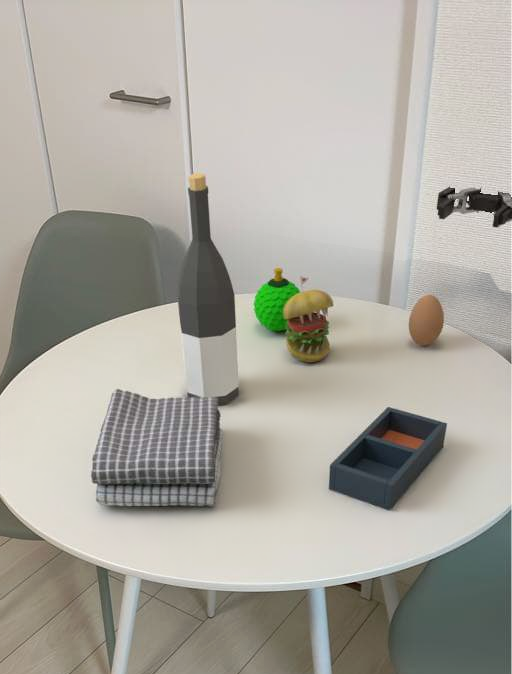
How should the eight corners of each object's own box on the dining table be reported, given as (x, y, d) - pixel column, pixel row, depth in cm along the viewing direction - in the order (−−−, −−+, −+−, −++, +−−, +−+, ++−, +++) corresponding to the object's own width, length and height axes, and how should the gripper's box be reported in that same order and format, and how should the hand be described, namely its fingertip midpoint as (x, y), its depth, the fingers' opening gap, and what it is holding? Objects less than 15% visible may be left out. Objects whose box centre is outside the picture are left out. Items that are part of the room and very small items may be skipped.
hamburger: (299, 371, 114) (300, 294, 106) (273, 353, 119) (272, 279, 111) (340, 357, 117) (344, 281, 109) (313, 340, 122) (315, 267, 114)
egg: (425, 355, 116) (432, 305, 110) (399, 344, 119) (404, 296, 114) (447, 344, 118) (454, 295, 113) (421, 334, 121) (427, 286, 116)
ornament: (303, 338, 122) (305, 278, 116) (254, 340, 123) (252, 280, 117) (302, 317, 129) (303, 259, 122) (254, 319, 129) (253, 261, 123)
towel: (95, 516, 90) (83, 462, 85) (114, 433, 104) (105, 383, 99) (221, 512, 89) (217, 457, 84) (223, 429, 103) (220, 377, 98)
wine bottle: (175, 390, 112) (153, 174, 93) (222, 375, 115) (210, 162, 96) (201, 413, 107) (182, 189, 87) (250, 396, 109) (242, 175, 90)
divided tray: (443, 447, 97) (447, 423, 94) (389, 510, 88) (392, 485, 85) (385, 429, 101) (388, 406, 98) (328, 489, 91) (329, 464, 89)
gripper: (468, 157, 125) (427, 184, 116) (555, 167, 119) (520, 196, 109) (461, 204, 130) (421, 234, 121) (544, 216, 124) (509, 248, 114)
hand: (468, 216), depth 115 cm, fingers open, 8 cm apart
